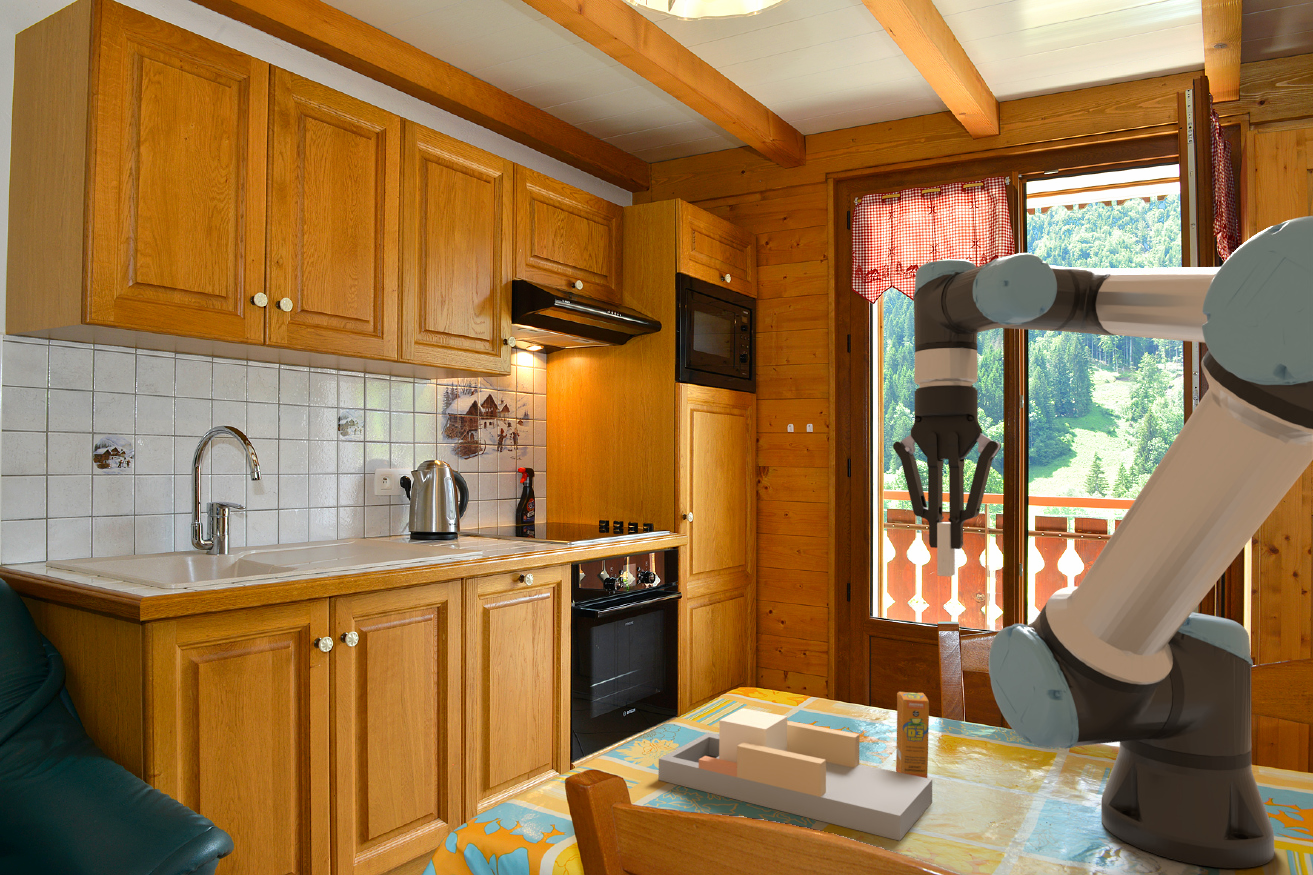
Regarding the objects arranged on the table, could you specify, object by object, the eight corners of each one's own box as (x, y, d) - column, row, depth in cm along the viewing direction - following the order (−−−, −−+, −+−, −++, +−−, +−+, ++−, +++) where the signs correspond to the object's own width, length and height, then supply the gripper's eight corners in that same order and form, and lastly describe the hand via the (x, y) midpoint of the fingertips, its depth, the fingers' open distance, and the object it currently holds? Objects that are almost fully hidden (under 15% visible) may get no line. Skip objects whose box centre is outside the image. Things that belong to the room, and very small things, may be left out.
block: (787, 758, 102) (787, 716, 102) (765, 773, 97) (765, 729, 97) (742, 748, 105) (742, 708, 106) (719, 762, 100) (719, 720, 101)
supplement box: (900, 782, 101) (901, 698, 102) (895, 772, 105) (895, 690, 105) (929, 784, 101) (929, 699, 101) (923, 773, 105) (923, 691, 105)
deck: (932, 801, 96) (932, 747, 96) (900, 840, 86) (900, 780, 86) (707, 751, 112) (708, 705, 112) (658, 779, 102) (659, 729, 102)
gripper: (1006, 386, 107) (1007, 575, 106) (902, 390, 113) (902, 568, 113) (995, 381, 100) (995, 582, 99) (885, 385, 107) (885, 574, 106)
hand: (946, 574), depth 106 cm, fingers closed
